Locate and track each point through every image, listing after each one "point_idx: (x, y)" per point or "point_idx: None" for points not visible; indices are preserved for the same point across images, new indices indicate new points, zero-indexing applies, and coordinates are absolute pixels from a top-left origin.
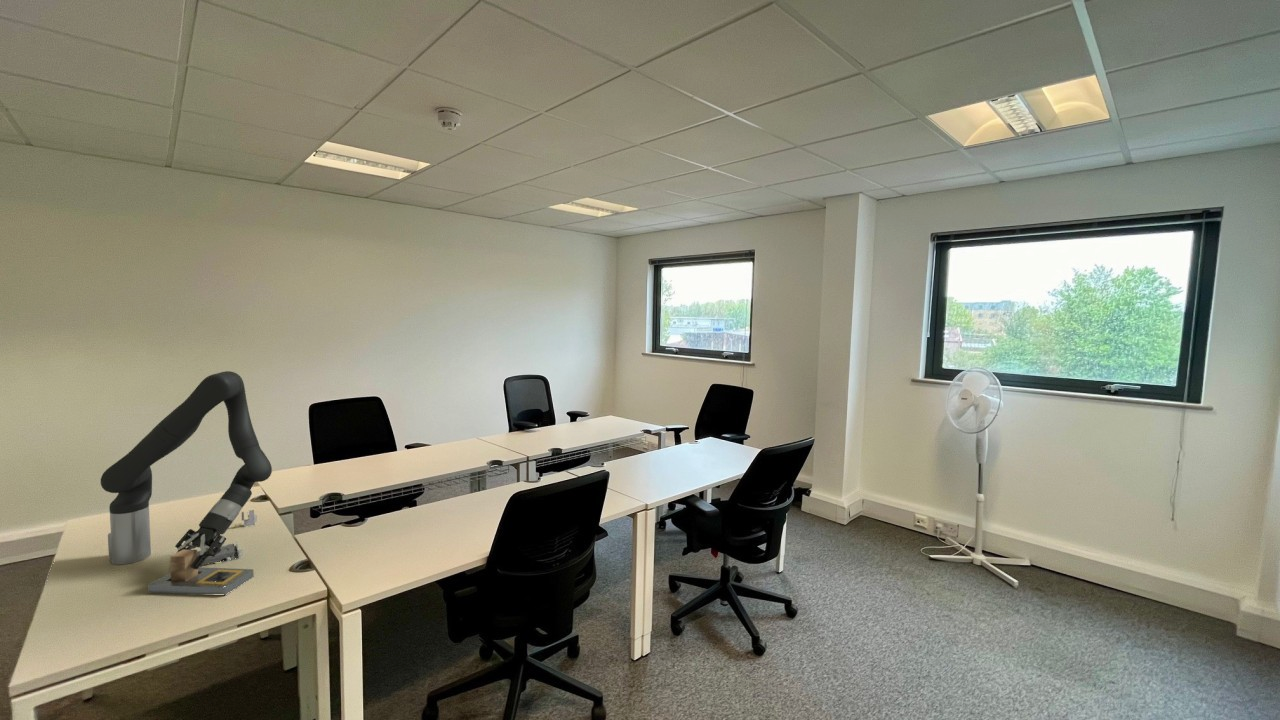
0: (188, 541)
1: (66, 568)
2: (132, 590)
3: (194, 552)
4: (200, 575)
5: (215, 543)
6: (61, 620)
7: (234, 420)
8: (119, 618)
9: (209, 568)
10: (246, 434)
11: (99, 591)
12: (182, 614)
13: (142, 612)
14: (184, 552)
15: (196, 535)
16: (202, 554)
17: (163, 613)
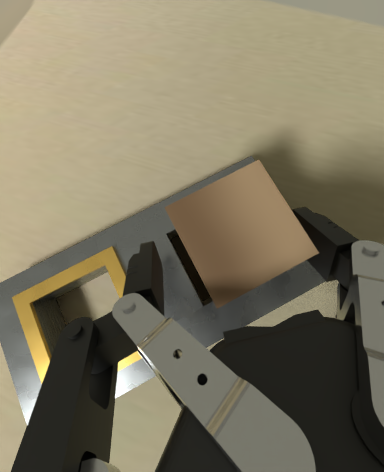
0: (379, 301)
1: None
2: (302, 152)
3: (204, 283)
4: (174, 285)
5: (21, 442)
6: (255, 23)
7: None
8: (147, 90)
9: (211, 335)
10: None
11: (371, 104)
12: (22, 176)
13: (130, 127)
14: (246, 235)
15: None
16: (119, 301)
17: (74, 153)
